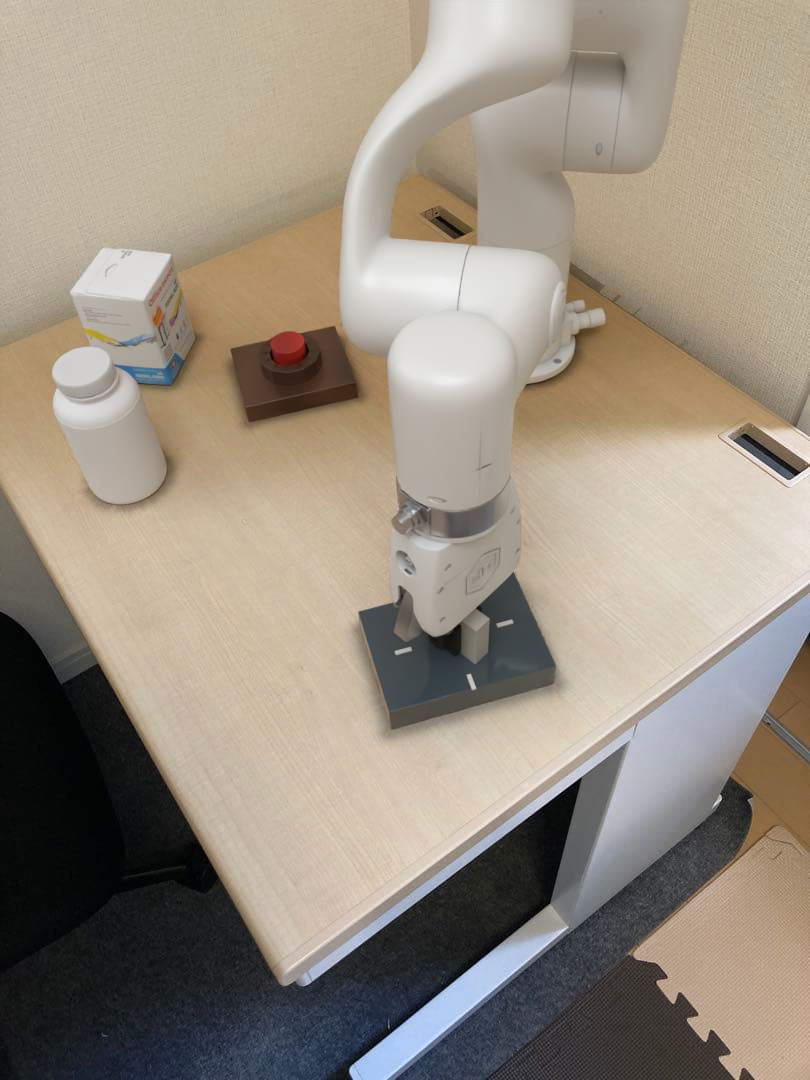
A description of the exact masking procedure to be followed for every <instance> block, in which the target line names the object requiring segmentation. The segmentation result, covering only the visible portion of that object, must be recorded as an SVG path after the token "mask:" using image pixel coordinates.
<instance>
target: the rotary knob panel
mask: <svg viewBox="0 0 810 1080" xmlns="http://www.w3.org/2000/svg"><path fill="white" fill-rule="evenodd" d="M480 607H482V613H483V614H484V615H485V616H487V617H488V618H489V619H490V621H489V643H488V653H487V654H486V655H485V656H484V657H483V658H482V659H481V660H480V661H479V662H478V663H477V664H474V663H473V662H471V661H470V660H469V659H467V658H466V657H465V656H464V655H462V654H461V653H459V654H458V655H457V656H453V655H452V654H451V653H449V652H448V651H447V650H446V649H443V650H440V649H438V648H437V647H436V646H434V645H433V644H432V643H431V641H430V640H429V635H428V633H427V632H425V631H423V632H422V633H421V635H419V636H417V637H416V638H414V639H412V640H410V641H409V642H405V641H404V640H402V639H401V638H400V637H399V636H397V635H396V634H395V633H394V628H395V625H396V621H397V617H398V614H399V610H400V607H398V608H396V607H395V606H394V604H393V602H389V603H386V604H382V605H378V606H374V607H371V608H365V609H362V610H359V611H358V612H357V613H358V620H359V626H360V632H361V635H362V638H363V641H364V644H365V648H366V652H367V655H368V658H369V662H370V665H371V668H372V672H373V673H374V674H373V675H374V679H375V681H376V684H377V687H378V691H379V694H380V698H381V701H382V704H383V708H384V711H385V714H386V718H387V721H388V724H389V727H390V730H391V731H392V730H395V729H398V728H403V727H406V726H409V725H413V724H417V723H420V722H423V721H427V720H431V719H435V718H437V717H441V716H445V715H449V714H453V713H455V712H459V711H463V710H467V709H470V708H473V707H476V706H480V705H484V704H487V703H491V702H494V701H498V700H502V699H505V698H509V697H512V696H517V695H519V694H522V693H526V692H529V691H533V690H537V689H541V688H543V687H547V686H551V685H554V682H555V676H556V669H557V664H556V662H555V660H554V658H553V655H552V654H551V650H550V648H549V647H548V644H547V642H546V640H545V638H544V636H543V635H544V634H543V633H542V631H541V628H540V626H539V624H538V622H537V620H536V618H535V616H534V614H533V611H532V609H531V607H530V605H529V602H528V600H527V598H526V596H525V594H524V591H523V589H522V587H521V585H520V583H519V580H518V578H517V575H516V574H515V570H514V571H513V573H512V574H511V575H510V576H509V577H508V578H507V579H506V580H505V581H504V582H503V583H502V584H501V585H500V586H499V587H498V588H497V589H496V590H494V591H493V592H492V593H491V594H490V595H489V596H488V597H487V598H486V600H485V601H484V602H483V603H482V604H480Z"/></svg>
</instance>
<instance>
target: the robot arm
mask: <svg viewBox="0 0 810 1080" xmlns="http://www.w3.org/2000/svg"><path fill="white" fill-rule="evenodd" d="M428 5H429V6H428V17H427V19H428V20H427V33H426V41H425V44H424V45H425V46H424V50H423V53H422V56H421V58H420V60H419V62H418V64H417V65H416V66H415V68H414V69H413V70H412V72H411V73H410V75H408V77H407V78H406V79H405V80H404V81H403V83H402V84H401V85H400V86H399V87H398V88H397V89H396V90H395V91H394V92H393V94H392V95H391V96H390V97H389V98H388V100H387V101H386V103H384V105H383V107H382V108H381V109H380V111H379V112H378V113H377V114H376V116H375V118H374V119H373V120H372V123H371V125H370V126H369V128H368V129H367V132H366V133H365V135H364V137H363V139H362V141H361V144H360V145H359V148H358V150H357V152H356V154H355V157H354V159H353V163H352V166H351V169H350V171H349V175H348V178H347V179H348V180H347V183H346V187H345V193H344V197H343V205H342V206H343V207H342V208H343V209H342V216H341V217H342V219H341V220H342V221H341V237H340V238H341V239H340V253H339V254H340V255H339V277H338V301H339V302H338V303H339V308H338V309H339V315H340V321H341V325H342V329H343V331H344V334H345V336H346V337H347V339H348V340H349V341H350V343H351V344H352V345H353V346H354V347H355V348H356V349H357V350H359V351H360V352H363V353H365V354H368V355H371V356H374V357H379V358H386V371H387V372H386V376H387V388H388V399H389V400H388V402H389V411H390V413H389V414H390V425H391V436H392V447H393V460H394V472H395V482H396V494H397V497H396V498H397V506H398V507H397V508H398V510H397V511H396V513H395V515H394V516H393V517H392V518H391V519H390V522H391V525H392V527H391V528H392V529H391V535H390V545H389V558H388V578H389V579H388V581H389V589H390V597H391V601H392V603H393V604H394V606H395V607H396V608H398V607H400V610H399V614H398V617H397V621H396V625H395V628H394V633H395V634H396V635H397V636H399V637H400V638H401V639H402V640H404V641H405V642H409V641H410V640H412V639H414V638H416V637H417V636H419V635H421V633H422V632H423V631H425V632H427V633H428V635H429V640H430V641H431V643H432V644H433V645H434V646H436V647H437V648H438V649H440V650H443V649H446V650H447V651H448V652H449V653H451V654H452V655H453V656H457V655H458V654H459V653H460V652H461V626H460V625H459V623H460V622H461V621H462V620H463V619H464V618H465V617H466V616H468V615H469V614H470V613H471V612H472V611H473V610H474V609H475V608H476V609H477V610H479V611H480V612H481V613H482V607H480V604H482V603H483V602H484V601H485V600H486V598H487V597H488V596H489V595H490V594H491V593H492V592H493V591H494V590H496V589H497V588H498V587H499V586H500V585H501V584H502V583H503V582H504V581H505V580H506V579H507V578H508V577H509V576H510V575H511V574H512V573H513V571H514V572H515V570H516V569H517V567H518V566H519V564H520V560H521V554H522V541H523V540H522V538H523V537H522V536H523V534H522V533H523V531H522V530H523V528H522V527H523V526H522V511H521V503H520V497H519V493H518V489H517V486H516V483H515V481H514V478H513V477H512V475H511V474H512V472H511V471H512V470H511V468H512V456H513V455H512V453H513V438H514V425H515V423H514V422H515V421H514V420H515V407H516V403H517V401H518V399H519V397H520V396H521V394H522V392H523V390H524V388H525V387H526V385H529V384H535V383H540V382H543V381H546V380H549V379H551V378H553V377H556V376H557V375H559V374H560V373H562V372H563V371H564V370H565V369H566V368H567V367H568V366H569V365H570V364H571V361H572V360H573V358H574V355H575V350H576V338H575V335H578V334H579V332H580V330H583V329H584V330H585V329H592V328H597V327H601V326H605V324H606V320H607V319H606V313H605V311H604V309H603V308H602V307H597V308H592V309H589V310H586V303H585V300H584V299H583V298H582V299H577V300H572V301H570V302H567V294H568V286H569V285H568V284H569V275H570V267H571V257H572V249H573V241H574V240H573V239H574V231H575V220H576V204H575V199H574V195H573V191H572V189H571V186H570V185H569V182H568V180H567V178H566V177H565V175H564V172H573V173H575V172H576V173H589V174H604V175H634V174H639V173H642V172H644V171H647V170H648V169H649V168H650V167H652V166H653V165H654V163H655V162H656V161H657V159H658V158H659V155H660V154H661V152H662V148H663V146H664V143H665V140H666V136H667V134H668V133H667V132H668V127H669V123H670V117H671V113H672V109H673V102H674V96H675V90H676V84H677V80H678V73H679V67H680V62H681V56H682V50H683V46H684V39H685V34H686V29H687V22H688V17H689V12H690V5H691V0H429V1H428ZM466 116H468V119H469V129H470V134H471V141H472V147H473V153H474V155H473V156H474V161H475V162H474V163H475V171H476V189H477V190H476V192H477V195H476V197H477V199H476V200H477V201H476V202H477V204H476V205H477V208H476V209H477V210H476V211H477V213H476V217H477V218H476V226H477V227H476V245H474V244H469V243H456V242H444V241H432V240H421V239H410V238H409V239H407V238H395V237H392V219H393V209H394V204H395V201H396V200H395V199H396V194H397V190H398V187H399V184H400V181H401V179H402V177H403V175H404V173H405V171H406V169H407V167H408V166H409V164H410V162H411V161H412V160H413V158H414V157H415V155H416V154H417V153H418V152H419V150H420V149H421V148H422V147H423V146H425V144H426V143H427V142H428V141H429V140H431V139H432V138H433V137H434V136H436V135H437V134H438V133H440V132H441V131H442V130H444V129H445V128H446V127H449V126H450V125H452V124H453V123H455V122H457V121H459V120H461V119H463V118H465V117H466Z"/></svg>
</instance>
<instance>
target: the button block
mask: <svg viewBox="0 0 810 1080" xmlns="http://www.w3.org/2000/svg"><path fill="white" fill-rule="evenodd" d="M298 333H299V334H301V335H302V336H303V337H304V341H305V347H306V357H305V359H303V360H302V361H300V362H299V363H296V364H291V365H282V364H278V363H277V362H276V361H275V360H274V358H273V354H272V349H271V340H272V339H273V337H275V336H276V335H274V336H272V337H270V338H269V339H267V340H263V341H258V342H253V343H249V344H244V345H240V346H236V347H235V346H234V347H230V353H231V357H232V362H233V365H234V370H235V373H236V374H235V375H236V377H237V381H238V386H239V389H240V393H241V398H242V401H243V405H244V409H245V412H246V416H247V421H248V422H249V423H251V422H256V421H260V420H264V419H269V418H273V417H277V416H282V415H287V414H290V413H295V412H298V411H304V410H308V409H313V408H316V407H320V406H325V405H330V404H335V403H339V402H343V401H347V400H352V399H356V398H358V397H359V393H358V386H357V381H356V378H355V375H354V373H353V370H352V368H351V365H350V362H349V359H348V356H347V354H346V352H345V349H344V346H343V344H342V341H341V338H340V335H339V333H338V330H337V328H336V326H335V325H332V326H327V327H323V328H319V329H318V328H317V329H314V330H308V331H305V332H298Z"/></svg>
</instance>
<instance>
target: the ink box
mask: <svg viewBox="0 0 810 1080" xmlns="http://www.w3.org/2000/svg"><path fill="white" fill-rule="evenodd" d="M173 258H174V257H173V254H171V253H165V252H156V251H149V250H138V249H129V248H116V247H115V248H114V247H102V248H101V249H100V250H99V251H98V253H97V255H96V256H94V259H93V260H92V262H91V263H90V264H89V266H88V267H86V269H85V271H84V272H83V273H82V275H81V276H80V277H79V279H78V280H77V281H76V283H75V284H74V286H73V287H72V288H71V289H70V291H69V293H70V297H71V300H72V302H73V305H74V308H75V310H76V314H77V316H78V318H79V321H80V323H81V325H82V329H83V331H84V334H85V336H86V339H87V342H88V344H89V347H97V348H100V349H103V350H104V351H106V352H107V353H108V354H109V355H110V356H111V358H112V361H113V363H114V366H115V367H118V368H120V369H122V370H124V371H126V372H127V373H129V374H130V375H131V376H132V377H133V378H134V379H135V381H136V382H137V384H146V385H147V384H148V385H158V386H159V385H160V386H172V385H173V383H174V382H175V380H176V378H177V376H178V373H179V372H180V370H181V368H182V366H183V364H184V362H185V360H186V358H187V356H188V354H189V352H190V351H191V349H192V347H193V345H194V343H195V341H196V335H195V332H194V327H193V324H192V321H191V318H190V313H189V311H188V307H187V304H186V300H185V297H184V293H183V291H182V290H183V289H182V286H181V283H180V279H179V276H178V272H177V269H176V265H175V262H174V259H173Z"/></svg>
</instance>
